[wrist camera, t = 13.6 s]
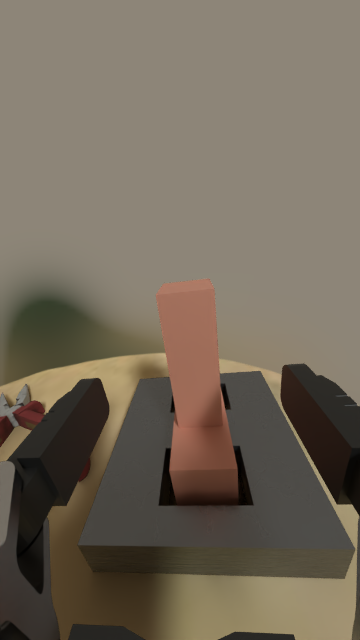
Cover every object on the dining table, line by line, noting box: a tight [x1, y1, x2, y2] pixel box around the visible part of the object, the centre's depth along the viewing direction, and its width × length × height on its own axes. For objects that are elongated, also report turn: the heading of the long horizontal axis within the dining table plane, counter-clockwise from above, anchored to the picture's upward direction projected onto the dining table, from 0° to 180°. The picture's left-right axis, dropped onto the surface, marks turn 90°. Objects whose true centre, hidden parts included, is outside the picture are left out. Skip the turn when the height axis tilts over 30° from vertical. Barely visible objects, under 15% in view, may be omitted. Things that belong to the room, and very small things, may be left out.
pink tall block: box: [156, 279, 239, 506], centre depth 15 cm, size 4×9×15 cm, turn 177°
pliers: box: [0, 384, 90, 482], centre depth 21 cm, size 11×20×3 cm, turn 39°
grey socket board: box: [78, 371, 355, 579], centre depth 17 cm, size 14×14×3 cm
